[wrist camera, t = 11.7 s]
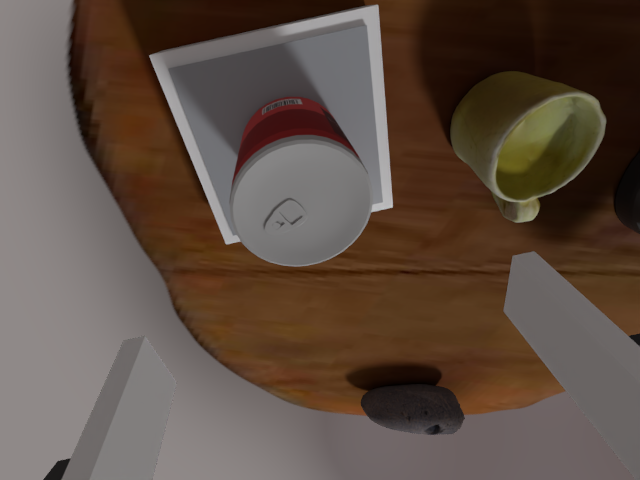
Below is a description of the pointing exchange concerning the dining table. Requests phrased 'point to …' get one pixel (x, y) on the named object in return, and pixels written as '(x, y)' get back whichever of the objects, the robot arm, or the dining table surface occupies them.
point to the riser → (279, 93)
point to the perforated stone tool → (414, 408)
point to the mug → (525, 137)
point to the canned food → (298, 185)
